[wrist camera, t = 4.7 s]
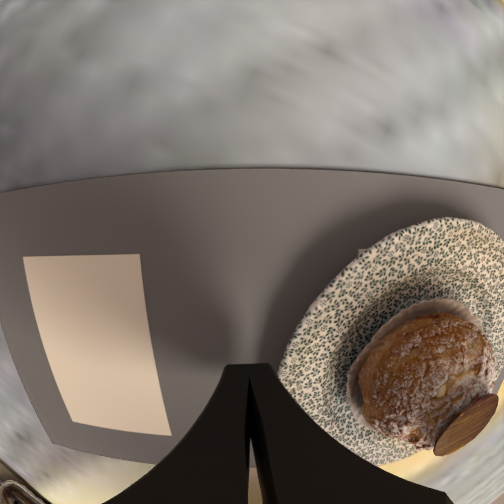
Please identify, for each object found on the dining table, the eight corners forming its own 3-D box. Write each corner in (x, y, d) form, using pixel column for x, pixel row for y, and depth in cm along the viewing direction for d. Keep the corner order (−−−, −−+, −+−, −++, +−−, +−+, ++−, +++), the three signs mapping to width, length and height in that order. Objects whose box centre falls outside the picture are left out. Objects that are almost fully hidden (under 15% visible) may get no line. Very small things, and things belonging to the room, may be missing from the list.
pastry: (434, 144, 9) (533, 136, 4) (523, 327, 11) (575, 361, 7) (202, 381, 10) (190, 482, 6) (372, 474, 13) (398, 533, 8)
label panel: (487, 405, 13) (490, 408, 12) (54, 439, 11) (52, 443, 11) (540, 197, 10) (544, 197, 9) (-17, 196, 9) (-22, 197, 8)
